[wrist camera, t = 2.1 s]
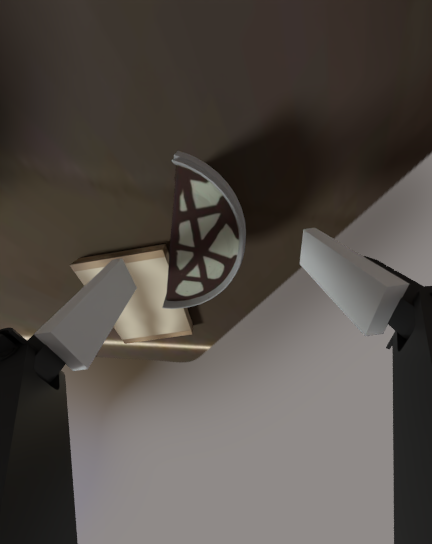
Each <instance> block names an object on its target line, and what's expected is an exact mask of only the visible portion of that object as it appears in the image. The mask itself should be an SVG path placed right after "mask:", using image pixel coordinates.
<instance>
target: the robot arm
mask: <svg viewBox="0 0 432 544" xmlns="http://www.w3.org/2000/svg"><path fill="white" fill-rule="evenodd" d="M300 265H301V266H302V267H303V268H304V269H305V270H306V272H307V273H308V274H309V275H310V276H311V277H312V278H313V279H314V280H315V281H316V282H317V284H318V285H319V286H320V287H321V288H322V289H323V290H324V291H325V292H326V293H327V295H328V296H329V297H330V298H331V299H332V300H333V301H334V302H335V304H337V306H338V307H339V308H340V309H341V310H342V311H343V312H344V313H345V315H346V316H347V317H348V318H349V319H350V320H351V321H352V322H353V323H354V325H355V326H356V327H357V328H358V329H359V330H360V331H361V332H362V333H363V334H364V336H370V335H377V334H383V333H384V331H385V329H386V327H387V325H388V324H389V325H390V326H391V327H392V328H393V329H394V330H395V333H394V335H393V336H392V338H391V340H390V342H389V343H388V345H387V347H386V348H388V349H390V348H391V346H393V443H394V444H393V450H394V544H432V286H425V287H424V286H422V285H420V284H418V283H417V282H415V281H413V280H411V279H409V278H408V277H406V276H404V275H402V274H401V273H399V272H397V271H394V269H392V268H390V267H388V266H387V267H386V265H384V264H383V263H381V262H379V261H378V260H375V259H372V258H369V257H366V256H362V255H360V254H358V253H357V252H355V251H353V250H351V249H350V248H348V247H346V246H345V245H343V244H341V243H340V242H338V241H336V240H335V239H333V238H331V237H330V236H328V235H326V234H325V233H323V232H321V231H320V230H318V229H316V228H310V229H304V230H303V239H302V248H301V257H300ZM136 289H137V287H136V285H135V283H134V281H133V279H132V277H131V275H130V273H129V271H128V269H127V267H126V265H125V263H124V261H123V259H122V258H121V259H114V260H112V261H111V262H109V263H108V264H107V265H106V266H105V267H104V268H103V269H102V270H101V271H100V272H99V273H98V274H97V275H96V276H95V277H94V278H93V279H92V280H90V281H89V282H88V283H87V284H86V285H85V286H84V287H83V288H82V289H81V290H80V291H79V292H78V293H77V294H76V295H75V296H74V297H73V298H72V299H70V300H69V301H68V302H67V303H66V304H65V305H64V306H63V307H62V308H61V309H60V310H59V311H58V312H57V313H56V314H55V315H54V316H53V317H52V318H50V319H49V320H48V321H47V322H46V323H45V324H44V325H43V326H42V327H41V328H40V329H39V330H38V331H37V332H36V333H35V334H34V335H33V336H32V337H31V338H30V339H29V340H28V341H27V340H25V339H24V338H23V337H22V336H21V335H20V334H19V333H17V332H16V331H15V330H14V329H13V328H5V329H1V330H0V544H77V532H76V518H75V505H74V491H73V478H72V464H71V450H70V437H69V423H68V409H67V396H66V382H65V375H64V373H63V372H62V371H61V369H62V368H63V367H64V365H65V364H66V365H67V366H68V367H70V368H71V369H72V370H73V371H75V370H83V369H88V367H89V366H90V364H91V363H92V361H93V359H94V358H95V356H96V354H97V353H98V351H99V349H100V348H101V346H102V344H103V343H104V341H105V340H106V338H107V336H108V335H109V333H110V331H111V330H112V328H113V326H114V325H115V323H116V321H117V320H118V318H119V317H120V315H121V313H122V312H123V310H124V308H125V307H126V305H127V303H128V302H129V300H130V298H131V297H132V295H133V294H134V292H135V290H136Z"/></svg>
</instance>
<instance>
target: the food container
mask: <svg viewBox="0 0 432 544" xmlns="http://www.w3.org/2000/svg"><path fill="white" fill-rule="evenodd" d="M172 162H173V163H174V164H175V165H176V174H175V192H174V204H173V216H172V228H171V239H170V249H169V267H168V281H167V294H166V297H165V300H164V304H163V307H162V308H166V309H179V308H187V307H192V306H195V305H199V304H202V303H204V302H206V301H208V300H210V299H212V298H213V297H215V296H217V295H218V294H219V293H220V292H221V291H223V290H224V289H225V288H226V287H227V286H228V284H229V283H230V282H231V281H232V279H233V278H234V276H235V274H236V273H237V271H238V269H239V267H240V265H241V262H242V260H243V255H244V251H245V240H246V227H245V219H244V215H243V211H242V208H241V205H240V203H239V201H238V199H237V197H236V195H235V193H234V192H233V190H232V189H231V187H230V186H229V184H228V183H227V182H226V181H225V180H224V179H223V177H222V176H221V175H220V174H219V173H218V172H217V171H215V170H214V169H213V168H211V167H210V166H209V165H208V164H206V163H205V162H203V161H201V160H199V159H197V158H196V157H194V156H192V155H189V154H186V153H183V152H180V151H177V152H176V153H175V154H174V159H173V160H172Z"/></svg>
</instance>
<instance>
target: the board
mask: <svg viewBox="0 0 432 544" xmlns="http://www.w3.org/2000/svg"><path fill="white" fill-rule="evenodd" d="M121 258H122V259H123V261H124V263H125V265H126V267H127V269H128V271H129V273H130V275H131V277H132V279H133V281H134V283H135V285H136V287H137V289H136V290H135V292H134V294H133V295H132V297H131V298H130V300H129V302H128V303H127V305H126V307H125V308H124V310H123V312H122V313H121V315H120V317H119V318H118V320H117V321H116V323H115V325H114V326H113V327H114V328H115V330H116V331H117V333H118V334H119V335H120V337H121V338H122V340H123V341H124V343H125V344H126V343H133V342H140V341H147V340H154V339H162V338H169V337H176V336H183V335H190V334H193V324H192V321H191V318H190V315H189V312H188V309H187V308H179V309H166V308H162V307H163V304H164V300H165V297H166V294H167V281H168V267H169V252H168V249H167V246H166V244H162V245H156V246H150V247H144V248H138V249H132V250H126V251H120V252H114V253H108V254H102V255H96V256H90V257H84V258H79V259H77V260H76V261H74V262H73V263H72V264H70V266H71V268H72V269H73V271H74V272H75V273H76V274H77V276H78V277H79V279H80V280H81V282H82V283H83V284H84V286H85V285H86V284H87V283H88V282H89V281H90V280H92V279H93V278H94V277H95V276H96V275H97V274H98V273H99V272H100V271H101V270H102V269H103V268H104V267H105V266H106V265H107V264H108V263H109V262H111V261H112V260H114V259H121Z"/></svg>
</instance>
